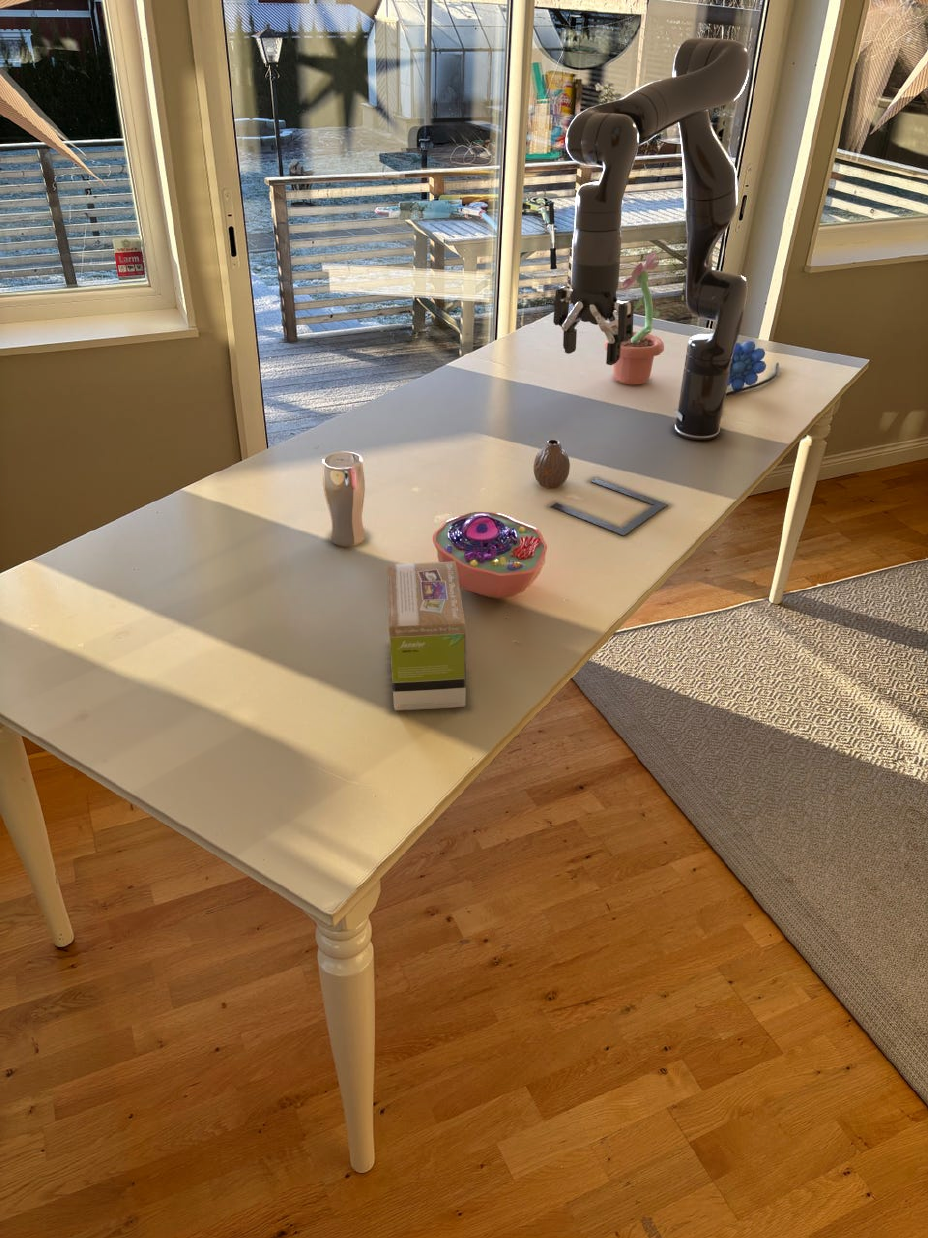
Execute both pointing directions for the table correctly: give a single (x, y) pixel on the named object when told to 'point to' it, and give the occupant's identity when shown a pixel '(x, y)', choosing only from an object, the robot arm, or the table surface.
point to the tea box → (426, 636)
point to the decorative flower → (639, 334)
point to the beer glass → (345, 497)
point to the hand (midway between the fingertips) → (590, 357)
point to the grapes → (746, 365)
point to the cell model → (491, 553)
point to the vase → (551, 465)
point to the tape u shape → (621, 531)
